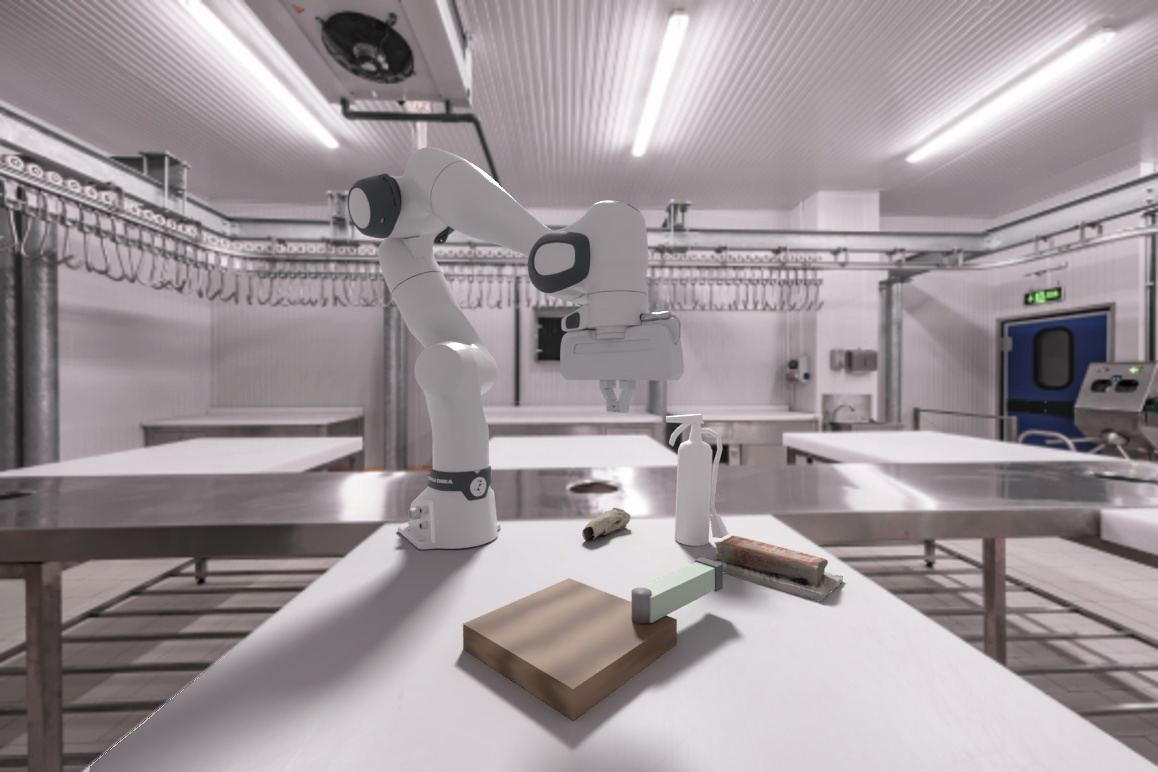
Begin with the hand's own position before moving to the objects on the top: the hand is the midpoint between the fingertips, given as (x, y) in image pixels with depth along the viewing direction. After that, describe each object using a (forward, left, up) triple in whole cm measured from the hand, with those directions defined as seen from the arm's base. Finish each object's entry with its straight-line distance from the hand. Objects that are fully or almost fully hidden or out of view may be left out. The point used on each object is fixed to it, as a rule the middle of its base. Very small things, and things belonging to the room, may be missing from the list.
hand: (617, 412), depth 71 cm
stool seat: (+4, -14, -27) cm, 31 cm away
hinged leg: (+11, -1, -24) cm, 26 cm away
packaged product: (+13, +24, -28) cm, 39 cm away
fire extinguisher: (-4, +30, -27) cm, 41 cm away
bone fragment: (-20, +22, -28) cm, 40 cm away
